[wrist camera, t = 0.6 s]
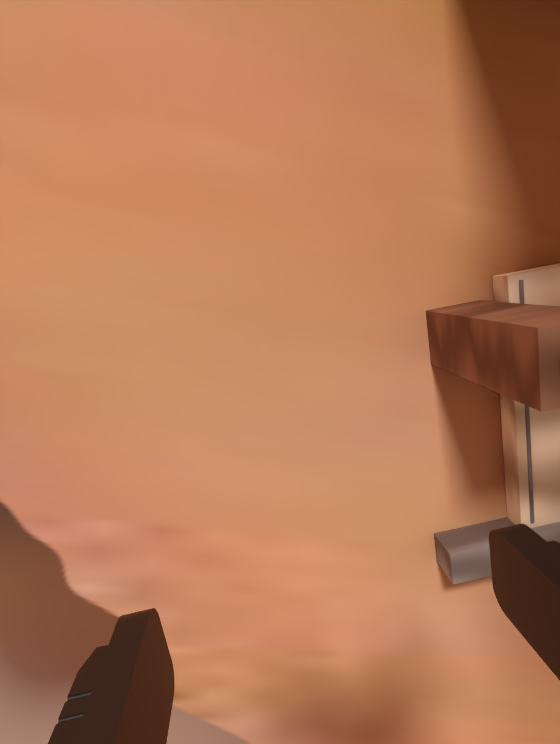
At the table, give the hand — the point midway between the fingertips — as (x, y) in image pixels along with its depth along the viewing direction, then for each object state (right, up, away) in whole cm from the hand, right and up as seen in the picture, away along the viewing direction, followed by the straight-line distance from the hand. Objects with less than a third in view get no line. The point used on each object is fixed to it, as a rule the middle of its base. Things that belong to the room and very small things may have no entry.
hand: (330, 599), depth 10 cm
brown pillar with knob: (+13, +9, +24) cm, 29 cm away
